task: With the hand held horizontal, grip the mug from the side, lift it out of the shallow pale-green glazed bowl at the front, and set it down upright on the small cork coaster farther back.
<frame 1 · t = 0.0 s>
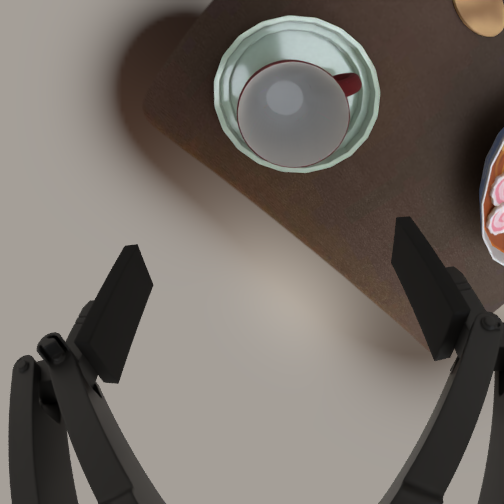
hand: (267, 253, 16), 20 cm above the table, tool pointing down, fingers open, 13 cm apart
mug: (295, 91, 29), resting on serving bowl
coaster: (478, 5, 20), on the table
serving bowl: (294, 90, 29), on the table
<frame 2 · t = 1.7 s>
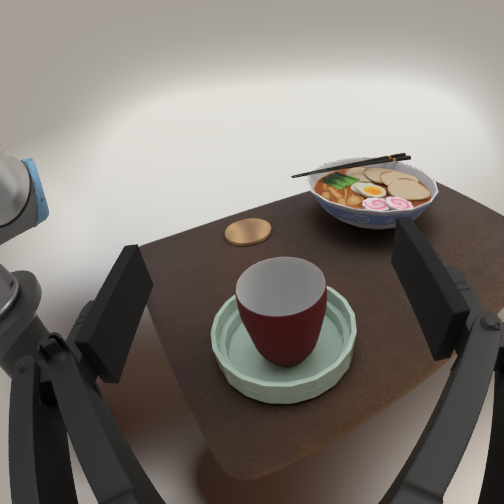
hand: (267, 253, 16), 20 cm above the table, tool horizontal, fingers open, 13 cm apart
ramen bowl: (371, 218, 55), on the table
mug: (285, 345, 35), resting on serving bowl
coaster: (248, 232, 56), on the table
serving bowl: (285, 348, 35), on the table
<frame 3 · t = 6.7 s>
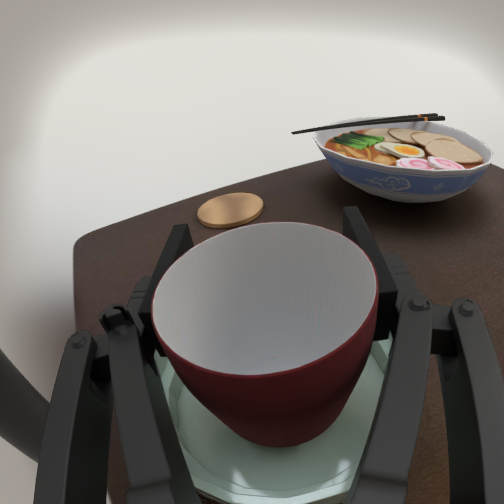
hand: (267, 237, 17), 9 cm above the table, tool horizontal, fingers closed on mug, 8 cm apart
ramen bowl: (402, 192, 38), on the table
mug: (282, 397, 18), resting on serving bowl, touching gripper
coaster: (230, 211, 39), on the table
serving bowl: (282, 400, 18), on the table
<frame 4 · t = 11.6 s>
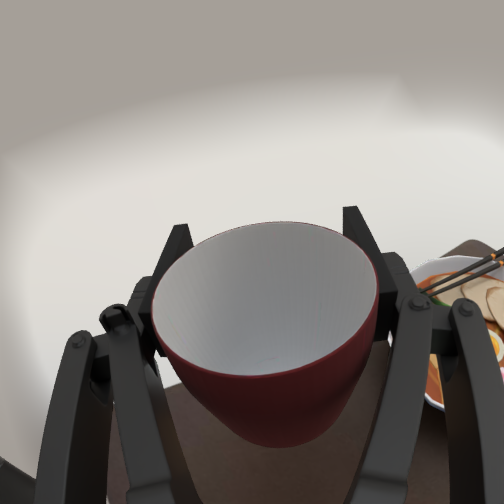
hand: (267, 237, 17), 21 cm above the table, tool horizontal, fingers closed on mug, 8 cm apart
ramen bowl: (465, 366, 29), on the table
mug: (282, 397, 18), point 13 cm above the table, touching gripper
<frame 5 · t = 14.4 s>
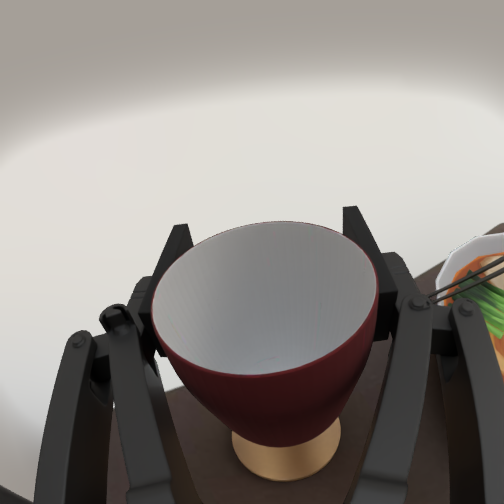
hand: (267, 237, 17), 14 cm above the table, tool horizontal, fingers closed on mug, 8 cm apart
mug: (282, 397, 18), point 6 cm above the table, touching gripper
coaster: (286, 433, 21), on the table
when the fingers open (8 cm above the table, at t = 16.5 s): mug stays where it is, resting on coaster.
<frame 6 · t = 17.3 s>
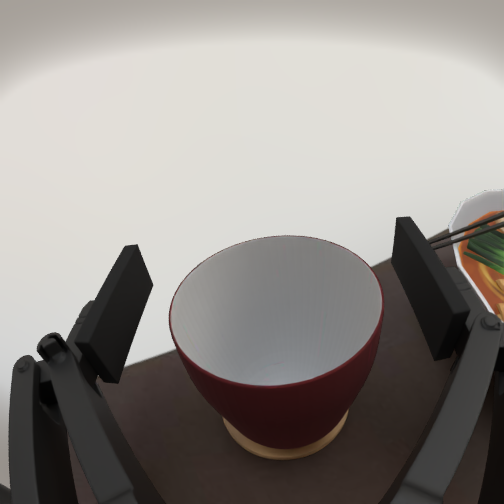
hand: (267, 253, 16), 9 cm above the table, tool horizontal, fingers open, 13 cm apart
mug: (285, 400, 19), resting on coaster
coaster: (285, 403, 19), on the table
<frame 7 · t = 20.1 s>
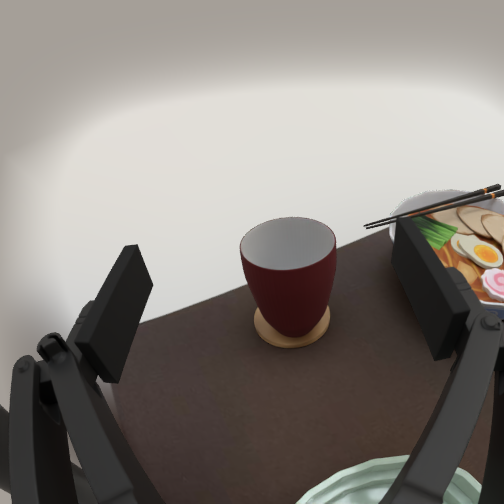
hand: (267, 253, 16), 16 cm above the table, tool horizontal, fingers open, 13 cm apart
ramen bowl: (468, 286, 33), on the table
mug: (292, 316, 34), resting on coaster
coaster: (292, 318, 34), on the table
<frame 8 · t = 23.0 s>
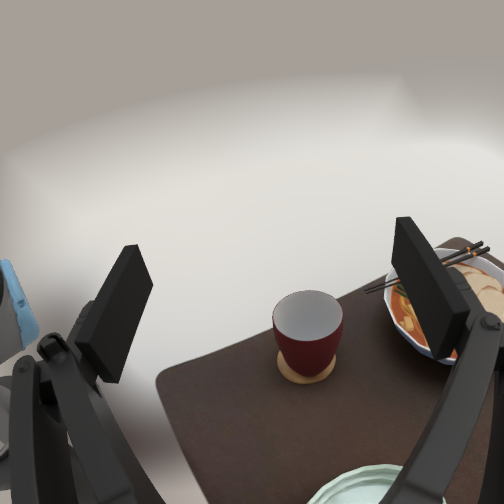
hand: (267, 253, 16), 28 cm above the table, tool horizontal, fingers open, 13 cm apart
ramen bowl: (446, 332, 42), on the table
mug: (306, 358, 42), resting on coaster
coaster: (306, 360, 43), on the table
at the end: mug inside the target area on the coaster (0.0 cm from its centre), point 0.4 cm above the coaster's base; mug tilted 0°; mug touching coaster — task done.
